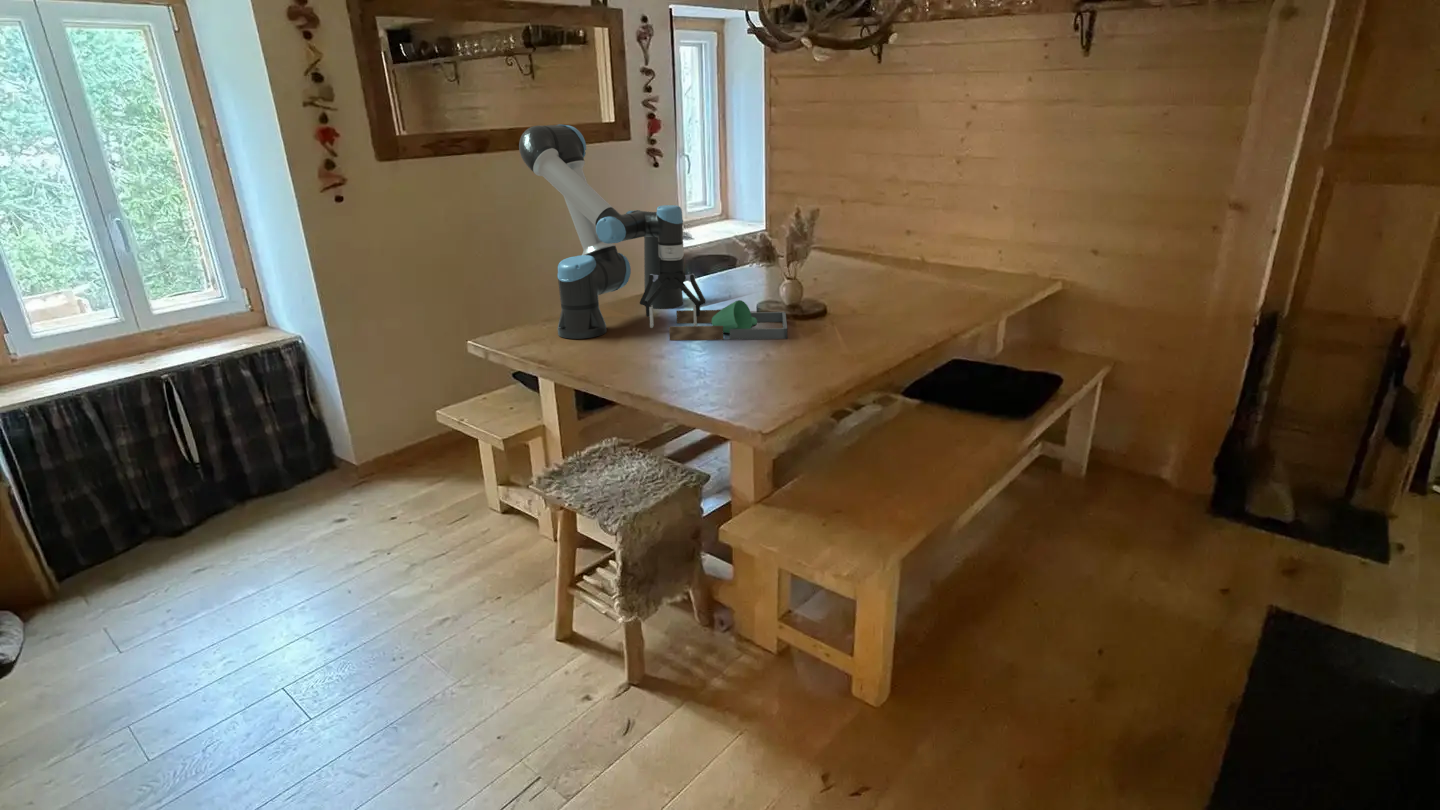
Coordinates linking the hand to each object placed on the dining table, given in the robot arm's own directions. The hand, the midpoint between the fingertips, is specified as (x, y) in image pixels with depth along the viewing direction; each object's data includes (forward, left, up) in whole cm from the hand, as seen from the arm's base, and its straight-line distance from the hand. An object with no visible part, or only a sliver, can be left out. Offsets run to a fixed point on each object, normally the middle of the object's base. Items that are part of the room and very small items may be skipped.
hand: (673, 326), depth 247 cm
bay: (+8, 0, -1) cm, 8 cm away
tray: (+26, 0, -1) cm, 27 cm away
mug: (+15, 0, 0) cm, 15 cm away
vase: (-7, +34, -2) cm, 34 cm away
